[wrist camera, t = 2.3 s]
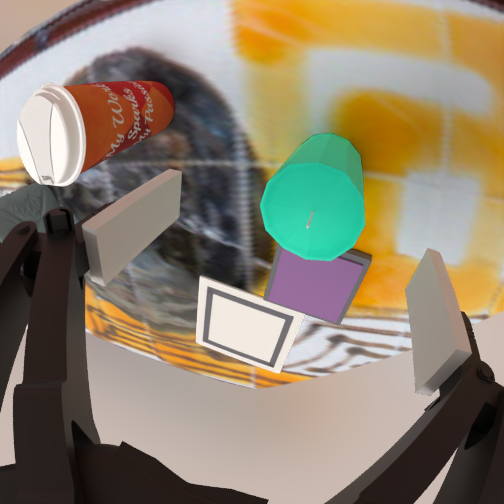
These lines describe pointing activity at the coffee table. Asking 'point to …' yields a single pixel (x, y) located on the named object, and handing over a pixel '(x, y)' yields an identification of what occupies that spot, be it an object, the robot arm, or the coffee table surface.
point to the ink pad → (316, 283)
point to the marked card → (245, 325)
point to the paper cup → (87, 125)
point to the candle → (317, 199)
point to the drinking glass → (26, 207)
